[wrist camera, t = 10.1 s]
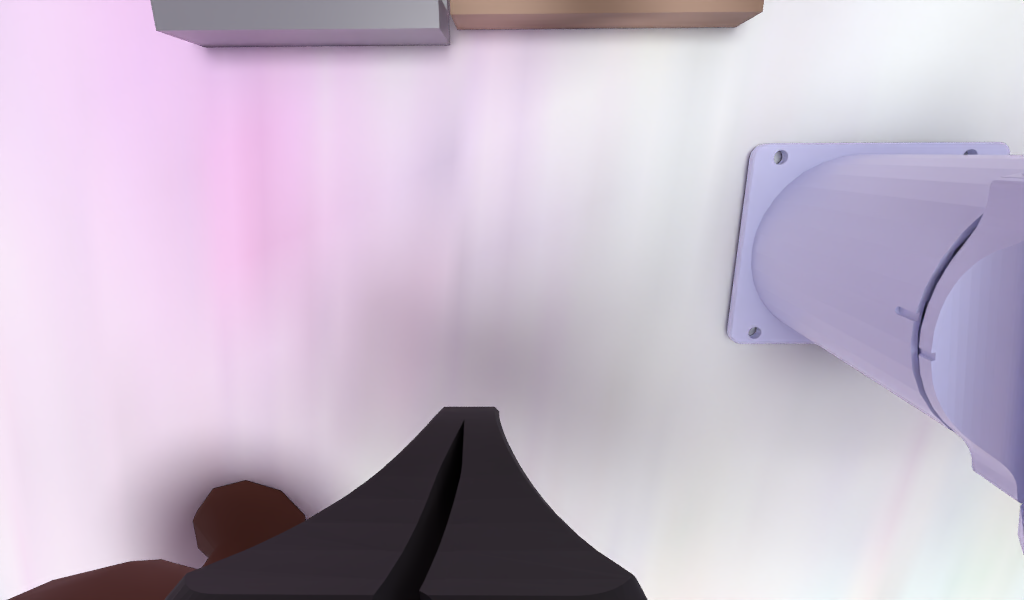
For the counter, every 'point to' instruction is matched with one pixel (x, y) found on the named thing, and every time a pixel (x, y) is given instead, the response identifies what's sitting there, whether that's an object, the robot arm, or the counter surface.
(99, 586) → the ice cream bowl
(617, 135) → the counter surface
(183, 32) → the tray
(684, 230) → the counter surface
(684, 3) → the walnut board
